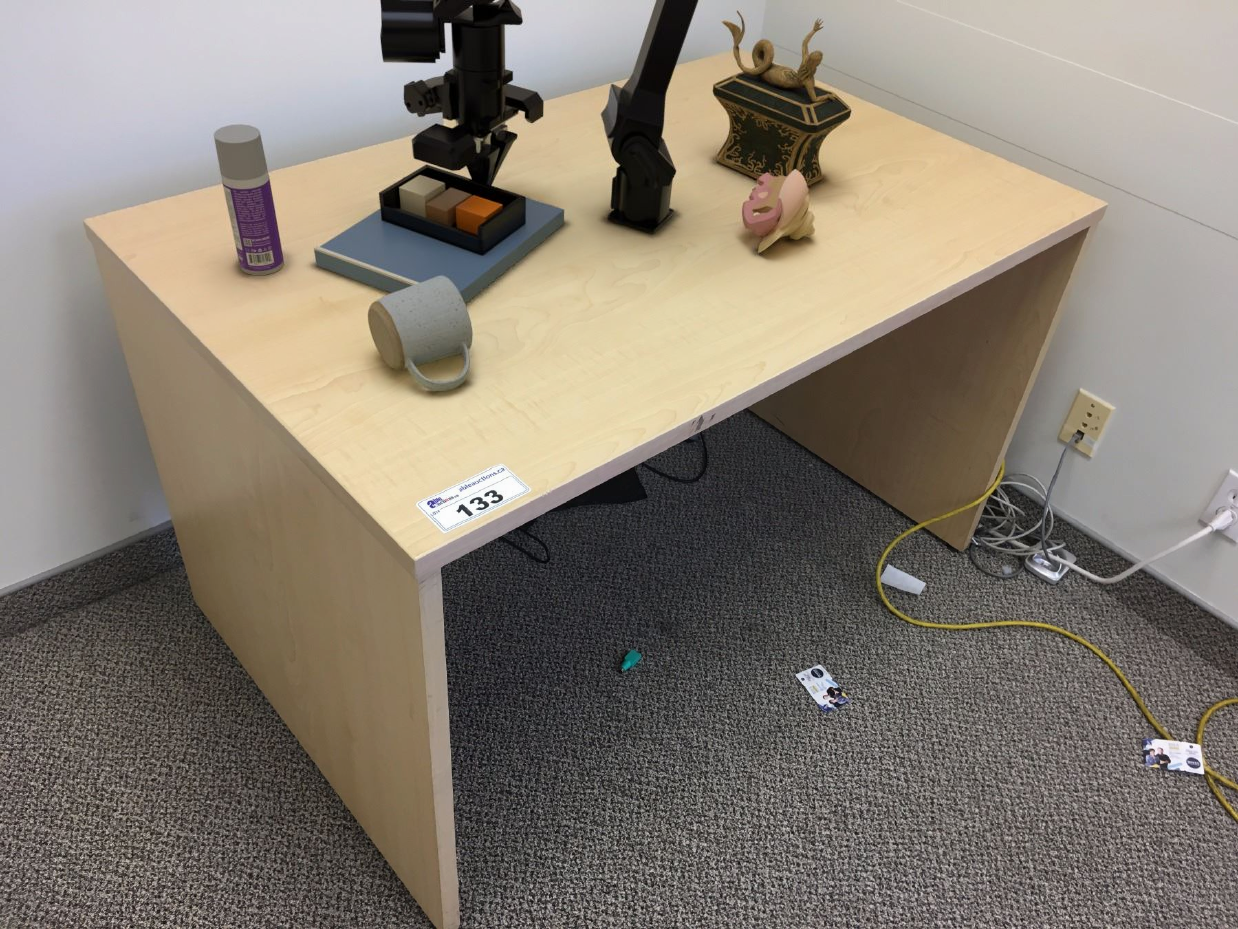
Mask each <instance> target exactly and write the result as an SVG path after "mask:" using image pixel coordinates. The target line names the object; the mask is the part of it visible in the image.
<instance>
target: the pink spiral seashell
mask: <svg viewBox="0 0 1238 929" xmlns="http://www.w3.org/2000/svg"><path fill="white" fill-rule="evenodd" d="M755 182H756V183H757V184H759V186H756V187H754V188H752V189H751V192H750V194H749V196H748V200H744V201H743V202H742V206H741V219H742V223H743V226H744V228H745V229H746V230H748V231H752V232H753V233H754V234H755V235H756V236H757V237H763V238H762V240H761V241H760V243H759V245H758V250H757V254H760V253H762V252H763V251H764V250H766V249H767V248H769V247H770V246H772V245H773V244H774V243H775V242H777V240H778V239H780V238H783V237H787V236H789V238H790V239H791V240H795V241H798V240H800V239H801V238H802V237H805V238H810V237H811V236H813V235H814V234H815V232H816V228H815V227H814V222H815V220H816V216H815V215H814V212H813V211H812V210H809V209H810V208H809V207H810V206H809V205H810V195H808V194H809V191H810V190H809V186H807V184H806V181H805V179H804V177H803V175H802V174H801V173H800V172H799V171H797V170H796V169H794V170H793V171H792V172H791V173H790V174H789V175H788V177H787V176H778V177H774V176H771V175H770V174H769V173H768V172H767V173H765V174H763V175H762V176H761V177H759V178H758V179H756V181H755ZM756 213H757V214H756ZM754 214H756V215H754Z"/></svg>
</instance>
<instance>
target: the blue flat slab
mask: <svg viewBox="0 0 1238 929" xmlns="http://www.w3.org/2000/svg"><path fill="white" fill-rule="evenodd" d="M525 197H526V196H525ZM564 224H565V208H561V207H559V206H555V205H552V204H549V203H545V202H542V201H539V200H536V199H533V198H530V197H526V224H525V225H523V226H522V227H521V228H519V229H518V230H517V231H515V232H514V233H513V234H511V235H510V236H509V237H507V238H506V239H505V240H503V241H502V242H501V243H499V244H498V245H497V246H495V247H494V248H493V249H491V250H490V251H489V252H487V253H486V254H485V255H483V256H481V255H479V254H476V253H473V252H470V251H467V250H464V249H462V248H459V247H456V246H453V245H450V244H447V243H445V242H442V241H439V240H436V239H433V238H430V237H427V236H425V235H422V234H419V233H416V232H413V231H410V230H408V229H405V228H402V227H399V226H396V225H393V224H391V223H388V222H385V221H382V220H381V210H380V208H379V209H377V210H376V211H374V212H372V213H371V214H369V215H368V216H366V217H364V218H363V219H361V220H360V221H358V222H356V223H355V224H353V225H351V226H350V227H349V228H347V229H345V230H344V231H342V232H340V233H339V234H337V235H336V236H334V237H333V238H331V239H329V240H328V241H326V242H325V243H323V244H321V245H320V246H319V245H315V246H314V247H313V252H314V259H315V266H316V267H318V268H321V269H325V270H327V271H330V272H333V273H336V274H338V275H341V276H344V277H346V278H349V279H351V280H355V281H357V282H360V283H361V284H365V285H368V286H371V287H374V288H376V289H379V290H382V291H385V292H387V293H389V294H391V293H394V292H396V291H399V290H402V289H405V288H407V287H410V286H413V285H415V284H418V283H421V282H424V281H427V280H429V279H432V278H434V277H437V276H445V277H447V278H448V279H450V280H451V281H452V283H453V284H454V285H455V286H456V288H457V289H458V291H459V293H460V294H461V297H462V299H463V300H464V303H465V305H466V304H467V303H468V302H470V301H472V299H474V298H475V297H476V296H477V295H479V294H480V293H481V292H482V291H483V290H484V289H486V288H487V287H488V286H489V285H491V284H492V283H493V282H495V281H496V280H497V279H498V278H499V277H501V276H502V275H503V274H505V273H506V272H507V271H508V270H509V269H510V268H512V267H513V266H514V265H516V264H517V263H518V262H519V261H520V260H522V259H523V258H524V257H525V256H527V255H528V254H529V253H530V252H532V250H534V249H535V248H536V247H538V246H539V245H540V244H542V243H543V242H544V241H545V240H546V239H548V238H549V237H550V236H551V235H552V234H554V233H555V232H556V231H557V230H559V229H560V228H561V227H562V226H563V225H564Z"/></svg>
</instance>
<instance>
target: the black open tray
mask: <svg viewBox="0 0 1238 929" xmlns="http://www.w3.org/2000/svg"><path fill="white" fill-rule="evenodd" d="M378 198H379V209H380V210H381V220H382V221H385V222H388V223H391V224H393V225H396V226H399V227H402V228H405V229H408V230H410V231H413V232H416V233H419V234H422V235H425V236H427V237H430V238H433V239H436V240H439V241H442V242H445V243H447V244H450V245H453V246H456V247H459V248H462V249H464V250H467V251H470V252H473V253H476V254H479V255H481V256H483V255H485V254H486V253H487V252H489V251H490V250H491V249H493V248H494V247H495V246H497V245H498V244H499V243H501V242H502V241H503V240H505V239H506V238H507V237H509V236H510V235H511V234H513V233H514V232H515V231H517V230H518V229H519V228H521V227H522V226H523V225H525V224H526V196H525V195H522V194H519V193H516V192H513V191H510V190H507V189H504V188H502V187H501V188H500V187H497V186H494V185H492V186H491V185H488V184H485V183H482V182H479V181H476V180H473V179H471V177H467V176H463V175H461V174H457V173H454V172H452V171H449V170H446V169H443V168H440V167H437V166H434V165H431V164H428V163H426V164H424V165H423V166H421V167H419V168H418V169H416V170H414V171H413V172H411V173H409V174H407V175H406V176H404V177H402V178H401V179H399V180H397V181H396V182H394V183H392V184H391V185H389V186H387V187H386V188H384V189H382V190H381V191H379V192H378Z"/></svg>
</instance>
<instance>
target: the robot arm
mask: <svg viewBox="0 0 1238 929" xmlns="http://www.w3.org/2000/svg"><path fill="white" fill-rule="evenodd" d="M379 1H380V20H381V22H380V24H381V25H380V34H379V38H380V48H381V57H382V62H383V63H399V64H401V63H402V64H436V63H437V60H441V54H446V53H447V50H446V27H445V26H446V24H450V32H451V34H450V35H451V54H452V68H451V69H448V70H447V71H445V72H444V74H443V75H440V76H439V75H438V76H433V77H430V78H428V79H425V80H423V79H419V80H416V81H415V80H412V81H409V82H408V83H406V84H404V85H403V105H404V106H405V107H406V110H407V112H408V113H410V114H416V116H417V117H418V118H425V116H427V115H432V114H433V115H434V114H440V113H441V112H442V113H441V116H442V115H443V119H447V120H450V121H452V120H457V123H458V125H457V126H455V127H453V128H450V127H447V126H443V124H439V123H434V124H432V125H430V126H428V127H426V128H425V129H424V130H422V131H420V132H418V133H417V134H416V135H414V137H413V138H412V139H411V148H412V151H411V152H412V156H413V159H414V160H417V161H420V162H423V163H426V164H428V165H431V166H434V167H438V168H441V169H444V170H447V171H450V172H456V171H461V170H463V169H464V168H466V169H467V171H468V174H469V176H470V179H473V180H476V181H479V182H482V183H485V184H488V185H491V186H493V184H494V181H495V180H496V178H497V176H498V173H499V171H500V169H501V167H502V165H503V163H504V161H505V159H506V158H507V155H509V154H508V153H509V151H510V150H511V148H512V146H513V144H514V142H515V141H516V140H518V137H519V135H518V133H516V132H513V131H510V130H508V125H507V124H506V122H508V121H510V120H511V119H512V118H514V117H516V116H517V115H519V112H524V119H525V121H526V122H527V123H528V124H534V123H536V122H537V121H538V120H540V119H541V118H543V117H544V108H545V107H544V105H545V104H544V102H545V101H544V100H543V98H542V97H541V94H539V92H538V91H535V90H532V89H529V88H525V87H521V86H517V85H515V84H510V83H511V82H513V81H514V71H513V70H510V69H506V26H521V25H522V24H523V22H524V19H523V13H522V10H521V8H520V7H519V6H517V5H516V4H515V2H513V1H512V0H379ZM698 3H699V0H655V3H654V6H653V9H652V12H651V15H650V18H649V22H648V24H647V27H646V30H645V34H644V37H643V39H642V43H641V46H640V49H639V53H638V55H637V57H636V58H637V59H636V62H635V65H634V68H633V71H632V73H631V75H630V77H629V78H628V80H627V81H626V82H625V83H624V85H623V86H622V87H620V86H618V85H617V84H614V83H611V84H610V86H609V92H608V99H607V103H606V105H605V107H604V109H603V110H602V111H601V113H600V117H601V120H602V124H603V128H604V133H605V137H606V140H607V143H608V147H609V150H610V153H611V156H612V158H613V160H614V162H615V163H616V164H618V166H617V167H616V172H615V176H614V177H612V179H611V192H610V209H611V211H610V212H609V213H608V214H607V215H606V219H607V220H608V221H611V222H614V223H617V224H621V225H623V226H627V227H630V228H633V229H637V230H639V231H643V232H646V233H649V234H654V233H656V232H657V231H658V230H659V229H660V228H661V227H662V226H663V225H664V224H665V223H666V222H668V220H670V219H671V217H673V216H674V215H675V209H674V208H671V198H672V192H673V191H672V189H673V182H674V178H675V176H676V173H677V169H676V167H675V166H676V165H675V164H674V161H673V159H672V156H671V154H670V151H669V149H668V146H667V144H666V140H665V139H664V137H663V133H664V127H665V114H666V113H665V112H666V110H665V109H666V98H667V92H668V89H669V86H670V84H671V80H672V77H673V76H674V75H673V74H674V72H675V69H676V66H677V64H678V61H679V58H680V54H681V52H682V49H683V46H684V43H685V41H686V38H687V35H688V32H689V29H690V26H691V23H692V20H693V17H694V15H695V12H696V9H697V6H698ZM443 119H442V120H443Z"/></svg>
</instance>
